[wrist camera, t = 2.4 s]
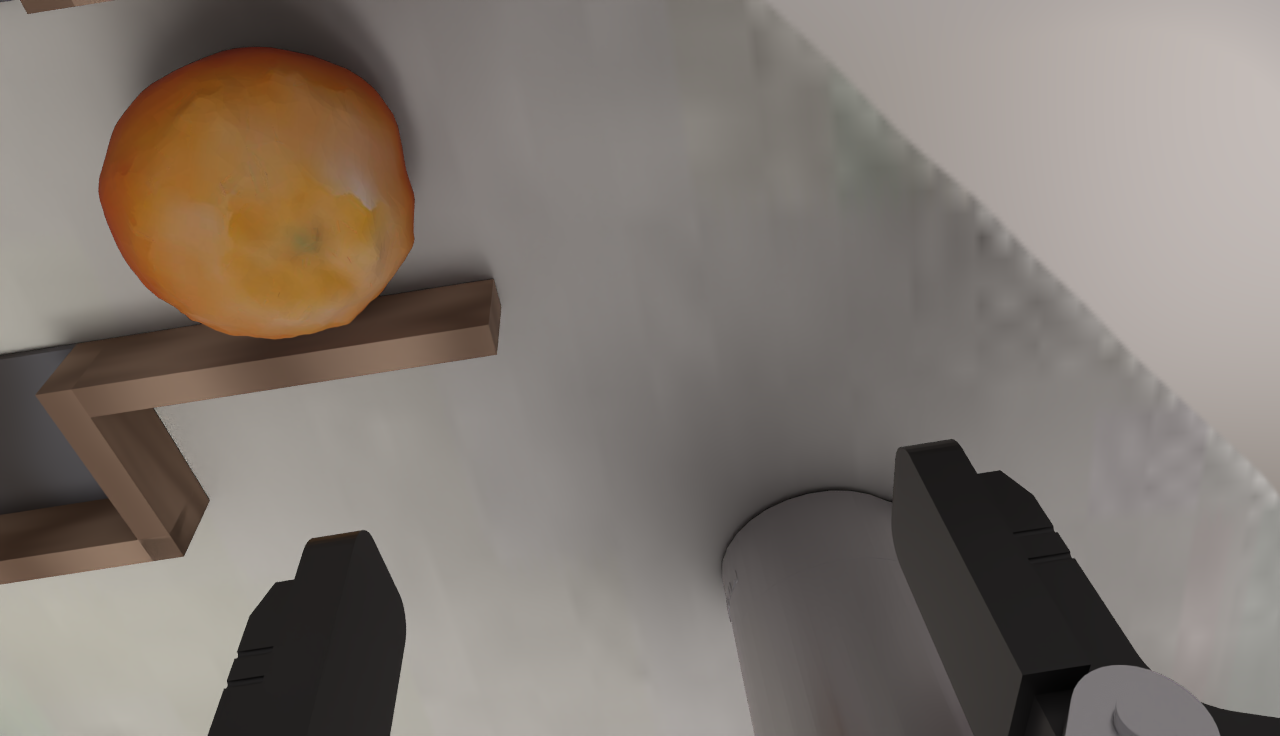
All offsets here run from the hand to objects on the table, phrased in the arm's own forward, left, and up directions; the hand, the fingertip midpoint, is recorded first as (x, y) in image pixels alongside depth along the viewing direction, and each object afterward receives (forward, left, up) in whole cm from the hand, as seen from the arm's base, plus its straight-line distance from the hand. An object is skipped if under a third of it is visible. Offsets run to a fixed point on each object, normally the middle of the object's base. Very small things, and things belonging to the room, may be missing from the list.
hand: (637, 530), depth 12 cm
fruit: (+9, 0, -18) cm, 21 cm away
